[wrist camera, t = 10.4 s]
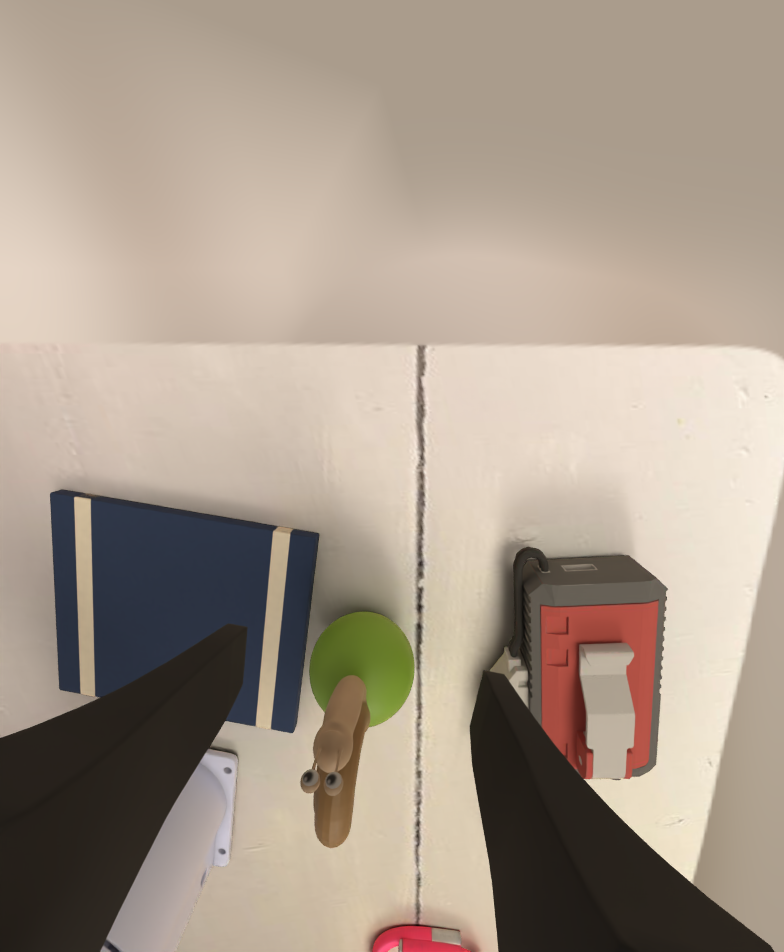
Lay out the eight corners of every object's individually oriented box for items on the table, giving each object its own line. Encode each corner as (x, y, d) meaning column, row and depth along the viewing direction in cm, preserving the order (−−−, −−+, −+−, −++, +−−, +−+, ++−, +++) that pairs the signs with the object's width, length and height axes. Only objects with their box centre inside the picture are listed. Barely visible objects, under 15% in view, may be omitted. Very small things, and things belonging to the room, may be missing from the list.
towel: (297, 723, 25) (293, 734, 24) (69, 681, 26) (58, 690, 25) (319, 532, 22) (316, 538, 21) (61, 488, 23) (48, 492, 22)
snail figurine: (419, 580, 22) (419, 794, 11) (411, 678, 24) (405, 960, 12) (324, 573, 23) (222, 773, 11) (322, 670, 24) (232, 937, 12)
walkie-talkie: (474, 541, 22) (487, 827, 26) (487, 579, 17) (501, 915, 22) (642, 531, 21) (627, 828, 25) (700, 569, 17) (671, 919, 21)
